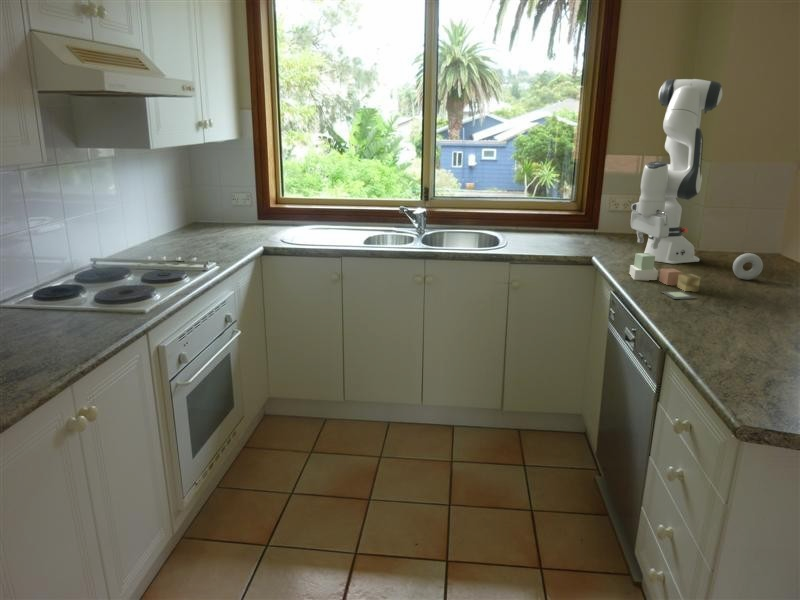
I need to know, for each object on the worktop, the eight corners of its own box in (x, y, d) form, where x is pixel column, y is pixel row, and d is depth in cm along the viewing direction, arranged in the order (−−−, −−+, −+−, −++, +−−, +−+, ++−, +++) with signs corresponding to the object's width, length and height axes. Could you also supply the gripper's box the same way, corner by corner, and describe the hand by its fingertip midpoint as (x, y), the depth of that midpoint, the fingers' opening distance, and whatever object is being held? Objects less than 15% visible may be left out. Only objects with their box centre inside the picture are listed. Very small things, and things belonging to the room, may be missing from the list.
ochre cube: (689, 287, 212) (691, 273, 211) (698, 291, 208) (700, 277, 206) (676, 287, 212) (678, 274, 210) (685, 291, 207) (687, 277, 205)
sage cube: (646, 266, 226) (647, 253, 225) (653, 269, 221) (655, 256, 220) (633, 266, 225) (635, 253, 224) (641, 269, 221) (642, 256, 219)
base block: (651, 276, 228) (652, 265, 227) (656, 281, 220) (658, 271, 219) (629, 275, 229) (630, 265, 228) (634, 280, 221) (635, 270, 220)
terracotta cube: (671, 281, 220) (673, 268, 218) (679, 285, 215) (681, 271, 213) (658, 282, 219) (660, 268, 217) (666, 285, 214) (668, 272, 213)
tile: (682, 292, 206) (682, 290, 206) (696, 298, 199) (696, 297, 198) (660, 292, 205) (660, 291, 205) (674, 299, 197) (674, 298, 197)
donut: (758, 279, 224) (763, 253, 221) (761, 281, 221) (766, 255, 218) (729, 277, 226) (733, 251, 223) (731, 279, 223) (736, 253, 220)
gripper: (676, 212, 208) (671, 251, 212) (644, 203, 227) (640, 239, 232) (659, 213, 207) (654, 252, 211) (629, 204, 226) (625, 240, 231)
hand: (647, 245), depth 222 cm, fingers open, 8 cm apart
